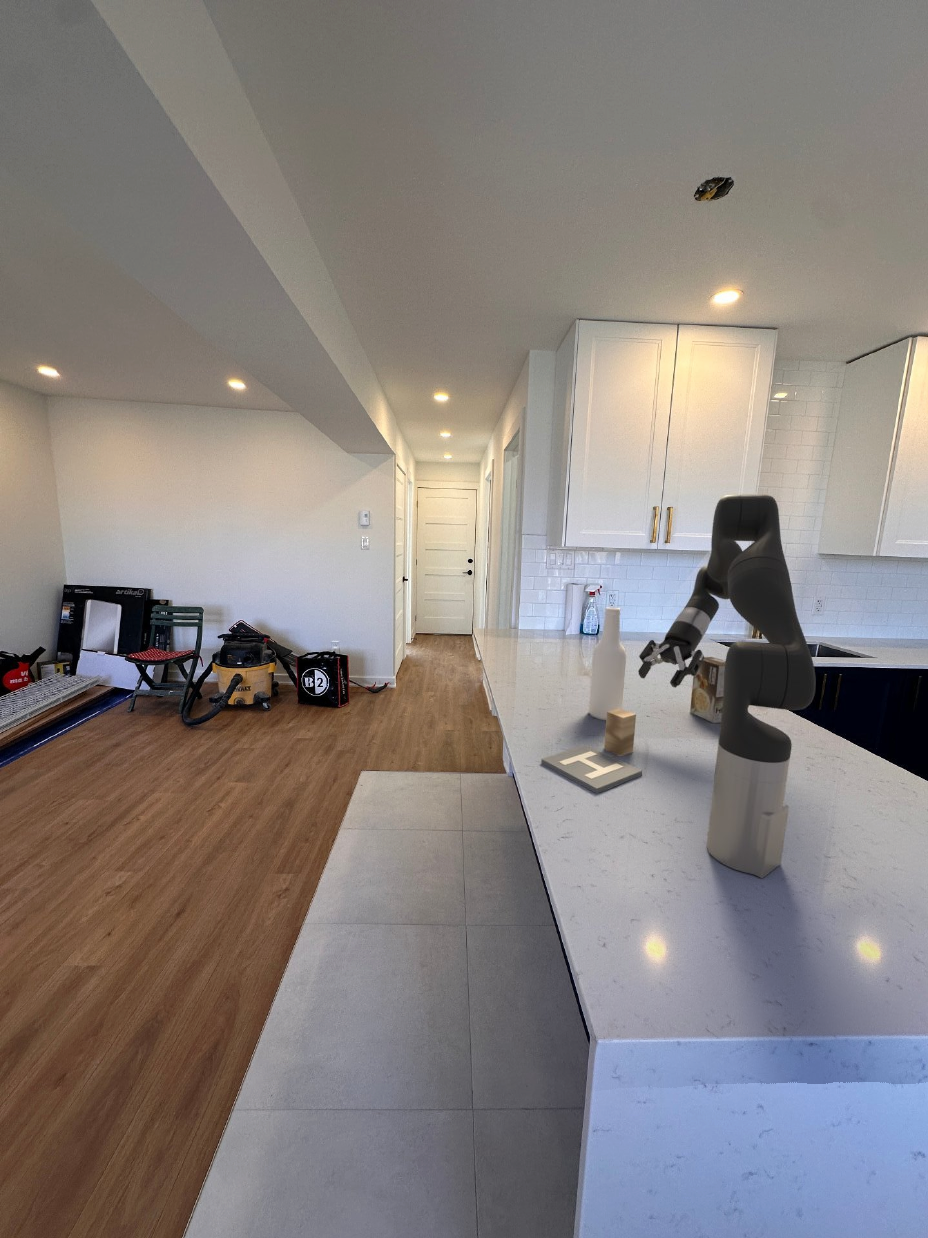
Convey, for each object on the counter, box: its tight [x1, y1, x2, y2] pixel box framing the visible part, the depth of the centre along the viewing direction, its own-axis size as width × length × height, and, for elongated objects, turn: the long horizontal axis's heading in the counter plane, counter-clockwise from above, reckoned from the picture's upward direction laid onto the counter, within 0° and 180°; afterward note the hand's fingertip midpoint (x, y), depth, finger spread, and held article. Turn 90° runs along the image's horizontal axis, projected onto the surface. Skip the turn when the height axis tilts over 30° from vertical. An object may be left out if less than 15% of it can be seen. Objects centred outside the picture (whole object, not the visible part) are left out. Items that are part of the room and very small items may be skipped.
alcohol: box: [588, 606, 627, 721], centre depth 134 cm, size 9×9×30 cm
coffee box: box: [689, 656, 726, 724], centre depth 136 cm, size 9×6×16 cm
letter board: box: [540, 744, 643, 794], centre depth 103 cm, size 15×14×1 cm
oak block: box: [603, 708, 637, 757], centre depth 112 cm, size 4×4×9 cm
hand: (656, 680), depth 118 cm, fingers open, 8 cm apart
